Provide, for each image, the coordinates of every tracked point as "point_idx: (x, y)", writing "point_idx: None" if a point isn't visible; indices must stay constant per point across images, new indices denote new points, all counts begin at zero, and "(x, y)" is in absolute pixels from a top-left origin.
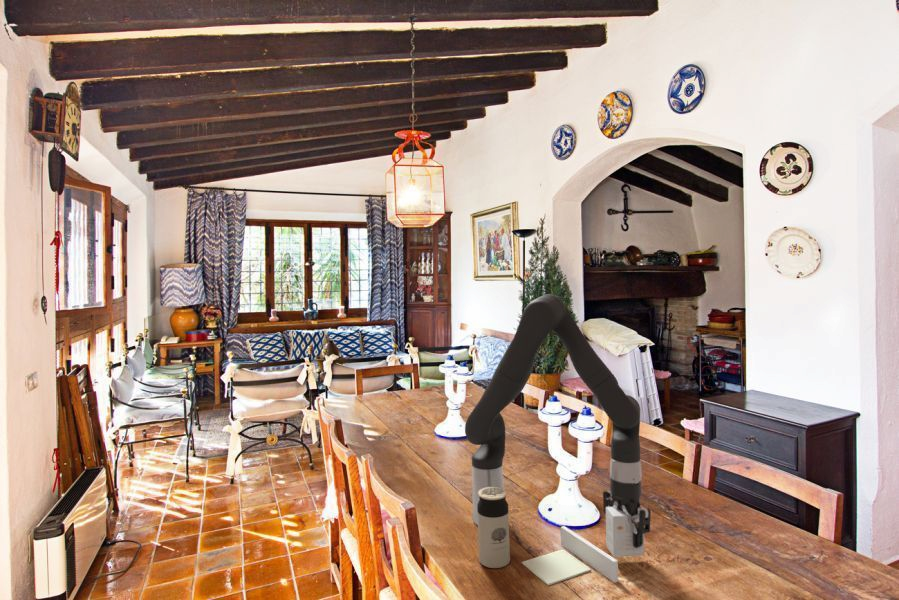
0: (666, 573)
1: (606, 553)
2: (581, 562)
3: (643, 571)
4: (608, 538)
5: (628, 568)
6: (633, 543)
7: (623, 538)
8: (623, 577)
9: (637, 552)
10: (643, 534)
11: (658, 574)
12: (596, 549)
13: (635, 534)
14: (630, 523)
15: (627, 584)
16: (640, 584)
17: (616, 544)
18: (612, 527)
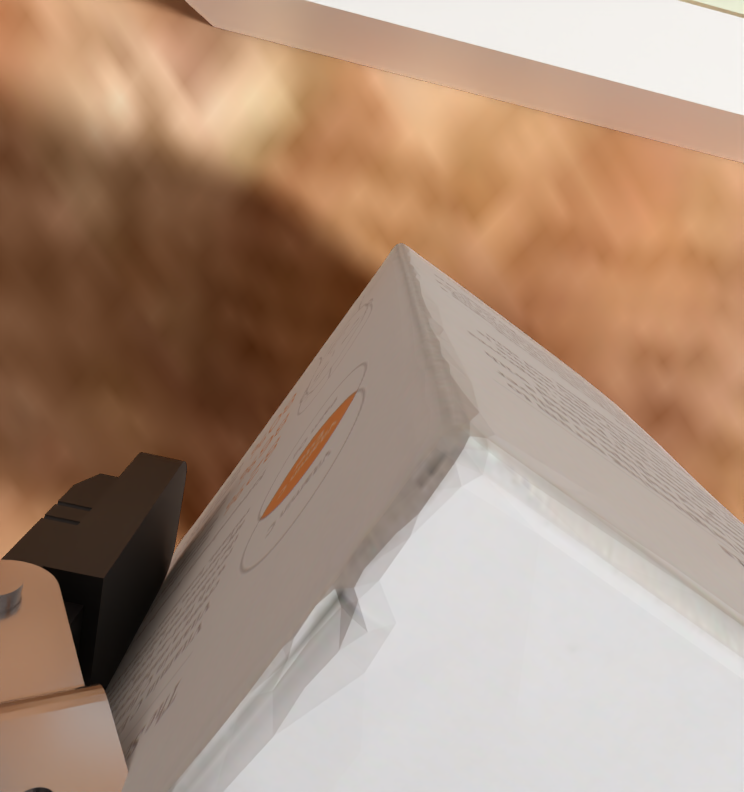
0: (17, 525)
1: (395, 17)
2: (726, 11)
3: (166, 404)
4: (584, 387)
5: (294, 343)
6: (163, 476)
7: (294, 428)
8: (225, 149)
9: (214, 496)
10: None
11: (48, 460)
12: (590, 2)
13: (46, 564)
14: (45, 696)
15: (113, 55)
16: (33, 168)
17: (372, 297)
18: (468, 341)
